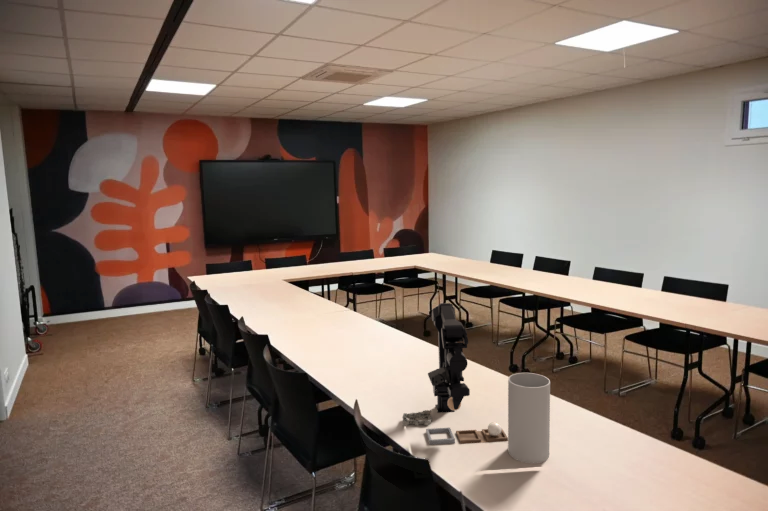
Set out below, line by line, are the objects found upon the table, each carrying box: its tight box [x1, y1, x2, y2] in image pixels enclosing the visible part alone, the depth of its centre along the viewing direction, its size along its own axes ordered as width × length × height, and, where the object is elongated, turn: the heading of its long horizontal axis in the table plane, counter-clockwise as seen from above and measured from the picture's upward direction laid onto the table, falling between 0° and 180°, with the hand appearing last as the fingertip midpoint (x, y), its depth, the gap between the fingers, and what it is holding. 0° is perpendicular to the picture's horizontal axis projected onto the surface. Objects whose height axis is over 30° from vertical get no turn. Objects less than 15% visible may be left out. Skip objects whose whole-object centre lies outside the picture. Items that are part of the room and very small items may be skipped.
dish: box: [425, 427, 456, 446], centre depth 170 cm, size 8×8×2 cm
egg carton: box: [401, 409, 433, 428], centre depth 183 cm, size 11×8×4 cm
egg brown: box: [447, 397, 462, 411], centre depth 168 cm, size 5×5×5 cm
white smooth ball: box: [487, 421, 503, 437], centre depth 170 cm, size 5×5×5 cm
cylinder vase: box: [507, 372, 551, 464], centre depth 157 cm, size 12×12×25 cm
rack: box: [455, 427, 508, 445], centre depth 170 cm, size 8×16×2 cm, turn 94°
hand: (454, 406), depth 168 cm, fingers closed on egg brown, 5 cm apart
